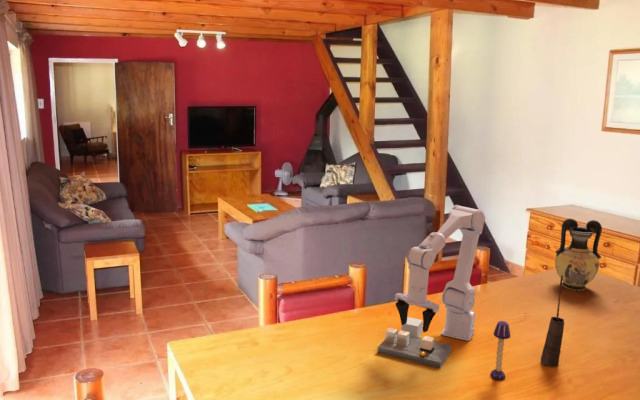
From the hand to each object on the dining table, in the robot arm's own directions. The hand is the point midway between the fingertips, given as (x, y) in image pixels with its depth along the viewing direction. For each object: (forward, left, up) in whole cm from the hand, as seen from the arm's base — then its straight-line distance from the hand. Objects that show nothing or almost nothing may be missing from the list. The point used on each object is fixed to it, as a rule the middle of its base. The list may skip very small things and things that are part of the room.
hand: (414, 327), depth 172 cm
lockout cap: (+5, -14, -9) cm, 17 cm away
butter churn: (-39, -15, -9) cm, 43 cm away
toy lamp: (-26, 0, -9) cm, 28 cm away
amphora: (-41, -93, -9) cm, 102 cm away
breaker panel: (0, -2, -9) cm, 9 cm away
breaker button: (-4, -2, -6) cm, 8 cm away
